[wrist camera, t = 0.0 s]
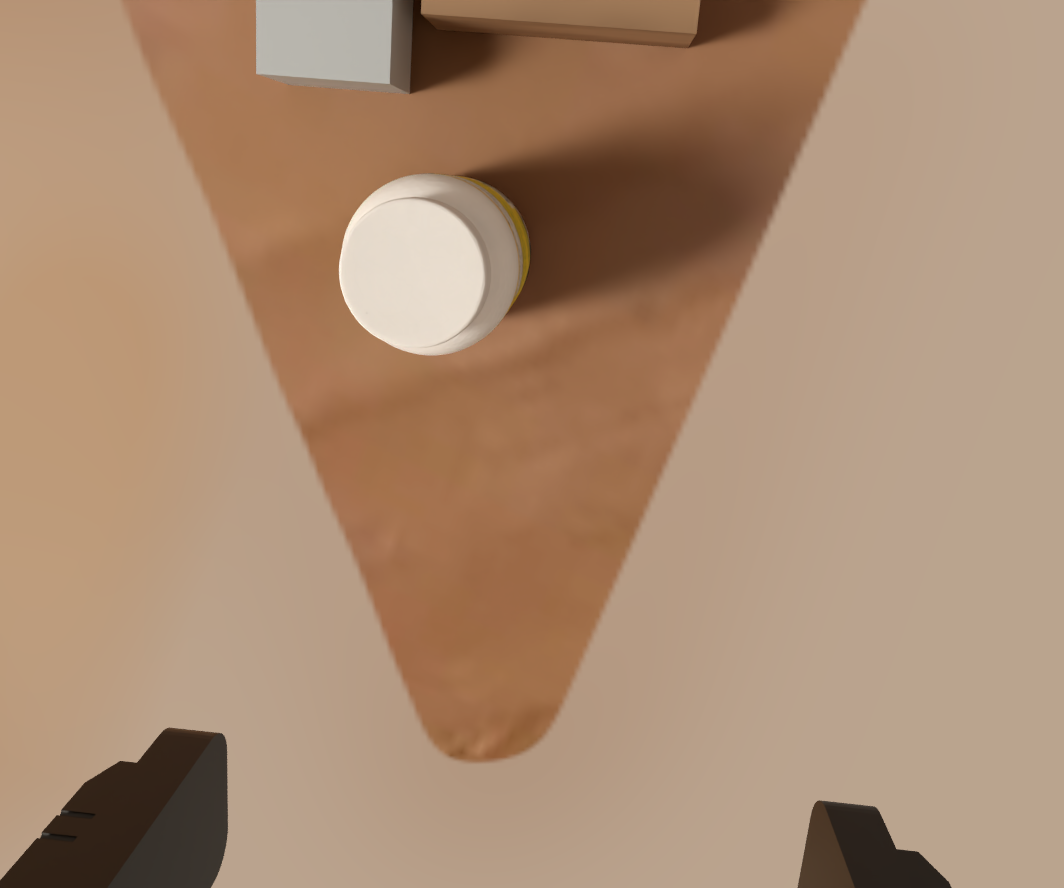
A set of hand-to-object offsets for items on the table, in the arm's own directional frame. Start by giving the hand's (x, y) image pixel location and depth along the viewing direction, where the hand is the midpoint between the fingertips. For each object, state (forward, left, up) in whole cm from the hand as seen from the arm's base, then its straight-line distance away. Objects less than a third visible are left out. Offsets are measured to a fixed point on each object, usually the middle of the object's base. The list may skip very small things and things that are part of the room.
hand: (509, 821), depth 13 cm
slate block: (-14, -10, -29) cm, 34 cm away
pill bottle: (-5, -5, -30) cm, 30 cm away
